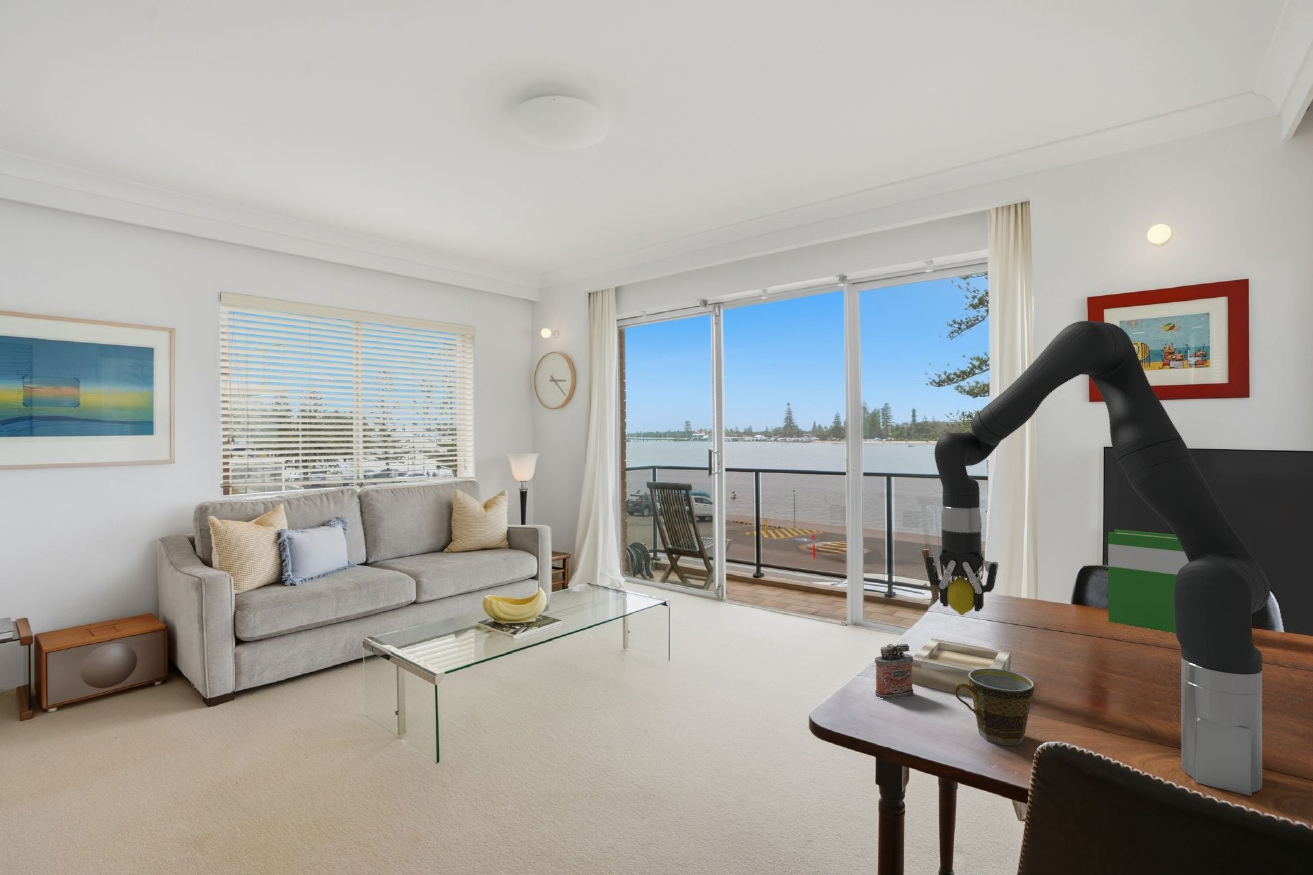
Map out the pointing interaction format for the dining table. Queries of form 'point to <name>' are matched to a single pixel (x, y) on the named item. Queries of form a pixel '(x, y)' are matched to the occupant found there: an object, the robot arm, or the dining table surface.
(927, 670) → the birch base
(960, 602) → the lemon
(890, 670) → the lighter
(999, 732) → the ceramic cup
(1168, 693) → the dining table surface
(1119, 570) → the green striped box
